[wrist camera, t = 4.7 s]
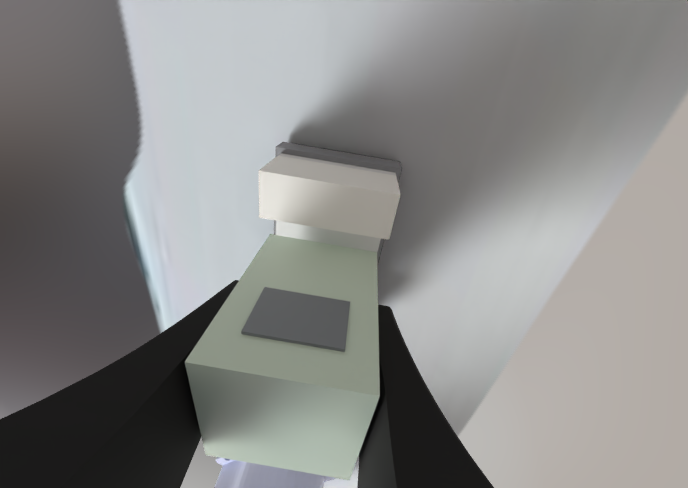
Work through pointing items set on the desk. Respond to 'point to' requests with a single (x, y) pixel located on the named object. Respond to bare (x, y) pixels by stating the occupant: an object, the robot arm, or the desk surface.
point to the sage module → (292, 360)
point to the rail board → (330, 196)
